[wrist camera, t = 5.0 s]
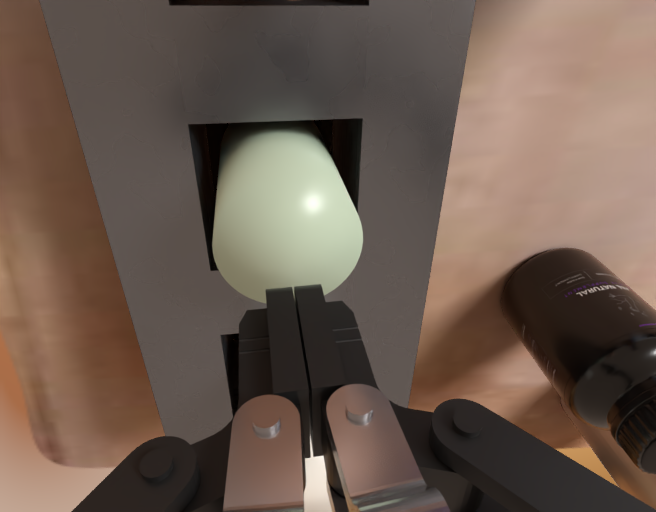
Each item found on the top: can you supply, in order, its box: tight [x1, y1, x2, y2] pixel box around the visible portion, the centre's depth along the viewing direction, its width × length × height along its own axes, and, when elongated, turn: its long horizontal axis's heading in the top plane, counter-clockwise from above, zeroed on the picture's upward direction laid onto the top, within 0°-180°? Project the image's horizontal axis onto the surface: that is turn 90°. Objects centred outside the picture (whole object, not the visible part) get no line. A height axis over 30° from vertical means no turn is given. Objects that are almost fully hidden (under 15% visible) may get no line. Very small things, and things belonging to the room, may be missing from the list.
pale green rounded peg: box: [212, 120, 363, 303], centre depth 18 cm, size 5×5×8 cm
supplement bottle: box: [501, 248, 656, 475], centre depth 26 cm, size 7×7×12 cm
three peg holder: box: [39, 0, 476, 445], centre depth 20 cm, size 30×13×6 cm, turn 179°
